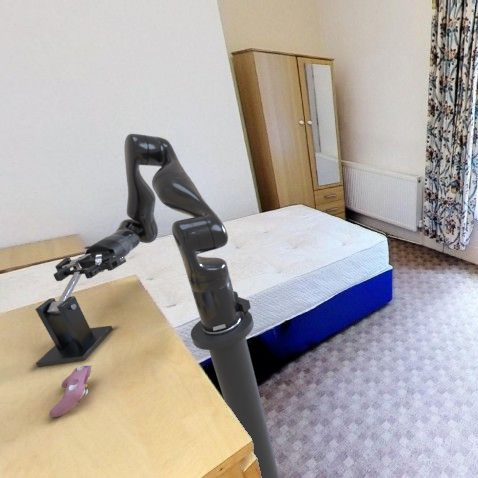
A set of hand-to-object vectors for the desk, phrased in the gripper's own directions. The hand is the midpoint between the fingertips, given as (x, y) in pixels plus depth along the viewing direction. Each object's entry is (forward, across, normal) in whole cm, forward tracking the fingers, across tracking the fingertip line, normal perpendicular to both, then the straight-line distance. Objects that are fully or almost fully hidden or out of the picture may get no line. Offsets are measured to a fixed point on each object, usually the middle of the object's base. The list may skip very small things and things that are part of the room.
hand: (72, 276), depth 82 cm
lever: (+2, 0, +4) cm, 4 cm away
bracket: (+7, 0, +17) cm, 18 cm away
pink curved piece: (+25, +10, +17) cm, 32 cm away
